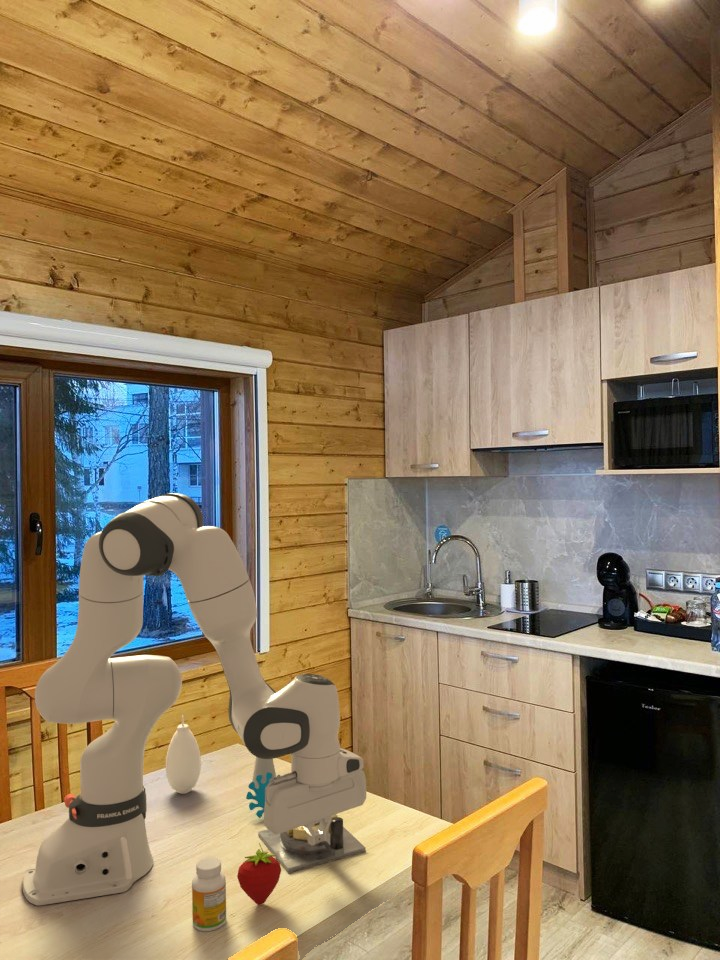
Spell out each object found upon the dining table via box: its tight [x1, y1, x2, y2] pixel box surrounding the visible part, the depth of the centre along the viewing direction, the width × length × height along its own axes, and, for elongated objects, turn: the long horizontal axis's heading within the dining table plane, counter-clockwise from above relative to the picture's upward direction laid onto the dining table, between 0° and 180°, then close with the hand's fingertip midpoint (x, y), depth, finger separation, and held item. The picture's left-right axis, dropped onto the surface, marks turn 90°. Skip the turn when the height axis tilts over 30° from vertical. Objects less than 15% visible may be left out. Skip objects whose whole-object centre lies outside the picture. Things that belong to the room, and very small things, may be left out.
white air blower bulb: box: [165, 714, 202, 795], centre depth 173 cm, size 8×8×18 cm
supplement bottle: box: [191, 856, 227, 932], centre depth 123 cm, size 5×5×10 cm
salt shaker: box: [251, 756, 277, 795], centre depth 172 cm, size 6×6×13 cm
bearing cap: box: [257, 820, 367, 873], centre depth 149 cm, size 16×16×6 cm
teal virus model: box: [245, 772, 281, 819], centre depth 164 cm, size 11×6×10 cm
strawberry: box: [236, 842, 282, 906], centre depth 128 cm, size 6×8×10 cm
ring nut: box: [285, 814, 344, 857], centre depth 145 cm, size 10×18×6 cm, turn 27°
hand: (316, 842), depth 136 cm, fingers closed
